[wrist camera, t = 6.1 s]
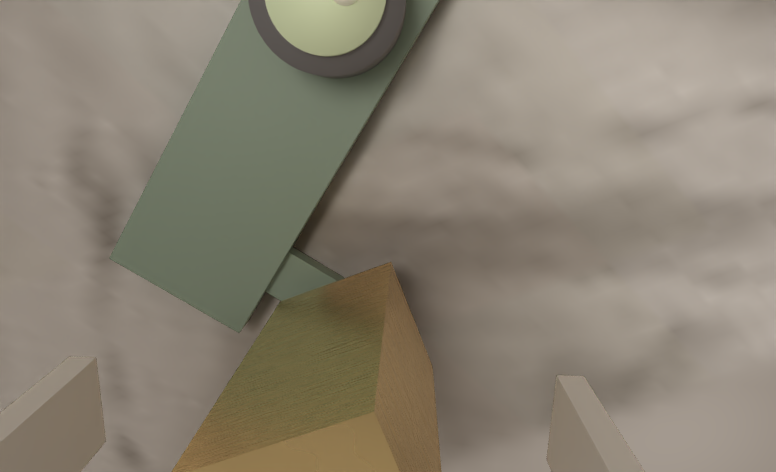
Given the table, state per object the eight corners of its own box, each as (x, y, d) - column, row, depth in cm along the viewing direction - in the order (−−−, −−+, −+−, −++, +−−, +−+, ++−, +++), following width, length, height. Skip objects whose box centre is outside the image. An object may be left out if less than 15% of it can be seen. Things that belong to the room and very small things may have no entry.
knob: (286, 292, 23) (156, 495, 11) (392, 254, 22) (372, 426, 10) (329, 389, 24) (251, 668, 12) (431, 355, 23) (453, 613, 11)
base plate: (124, 250, 24) (60, 283, 19) (465, -411, 18) (483, -573, 13) (355, 384, 25) (344, 444, 20) (748, -199, 19) (847, -285, 15)
